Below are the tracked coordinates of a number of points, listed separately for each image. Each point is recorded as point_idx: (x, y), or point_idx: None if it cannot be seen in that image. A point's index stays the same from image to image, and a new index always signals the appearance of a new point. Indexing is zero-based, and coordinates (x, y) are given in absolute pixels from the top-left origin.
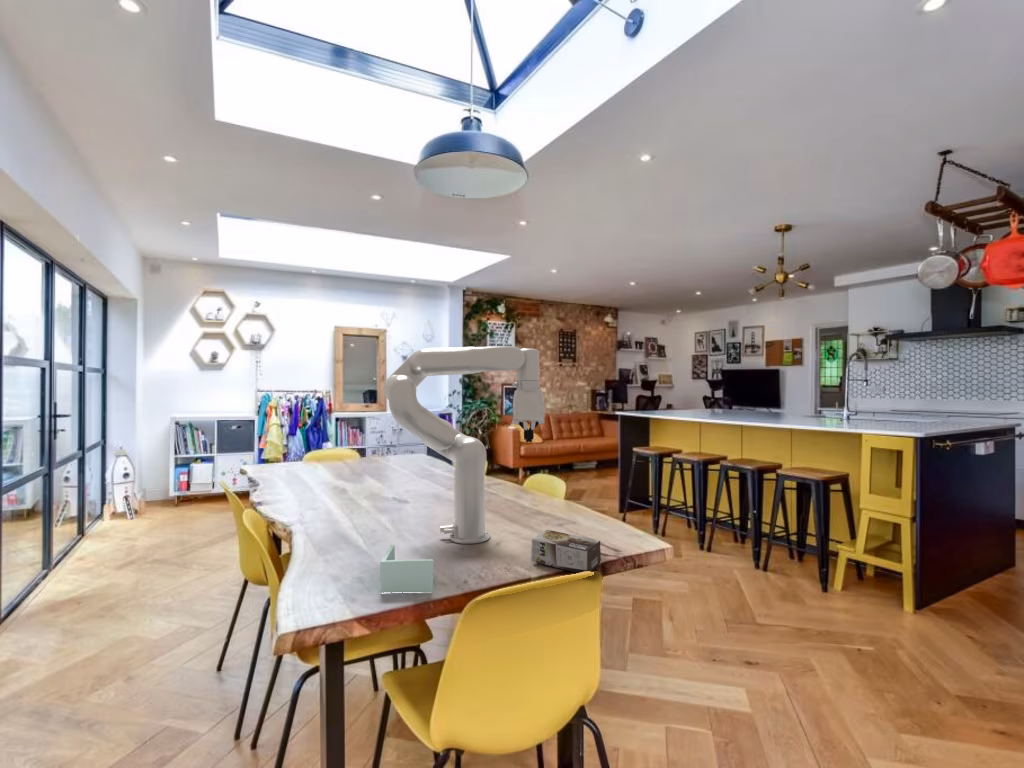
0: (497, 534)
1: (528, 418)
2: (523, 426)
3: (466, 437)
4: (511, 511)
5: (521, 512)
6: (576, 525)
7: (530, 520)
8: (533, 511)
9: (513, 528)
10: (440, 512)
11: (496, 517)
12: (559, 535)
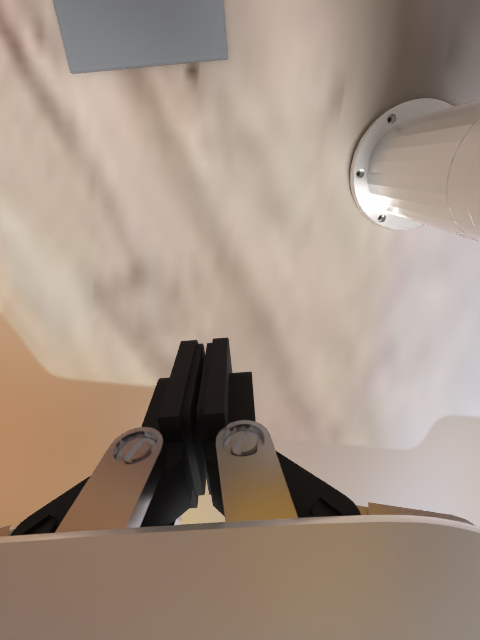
0: (323, 199)
1: (179, 568)
2: (278, 472)
3: None
4: (257, 407)
5: None
6: (92, 264)
7: (216, 325)
8: None
9: (271, 254)
10: (433, 415)
11: (302, 360)
12: None
